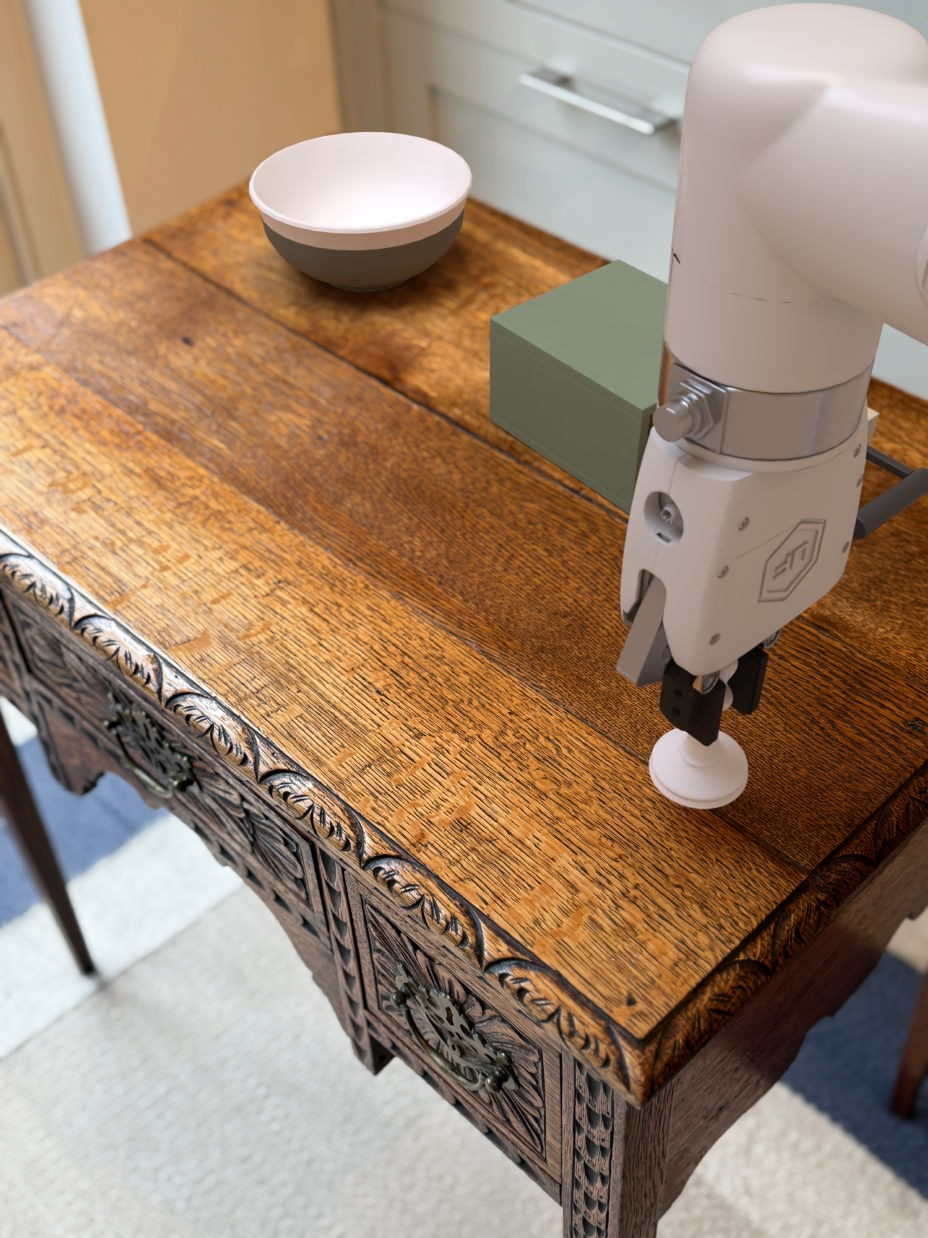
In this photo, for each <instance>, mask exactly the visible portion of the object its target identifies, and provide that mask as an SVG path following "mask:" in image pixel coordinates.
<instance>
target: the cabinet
mask: <svg viewBox="0 0 928 1238" xmlns="http://www.w3.org/2000/svg"><path fill="white" fill-rule="evenodd" d="M667 288H668V283H666V282H664V281H662V280H660V279H658V278H656V277H654V276H652V275H650V274H649V273H646V272H644V271H642V270H640V269H639V268H637V267H634V266H633V265H631V264H629V263H627V262H625V261H623V260H621V259H616V260H614V261H611V262H609V263H607V264H605V265H603V266H600V267H598V268H596V269H594V270H592V271H589V272H587V273H585V274H583V275H580V276H578V277H576V278H574V279H571V280H570V281H568V282H565V283H563V284H561V285H559V286H556V287H553V288H552V289H550V290H547V291H545V292H544V293H541V294H539V295H537V296H535V297H533V298H531V299H528V300H526V301H524V302H522V303H520V304H519V303H518V304H517V305H515V306H513V307H510V308H509V309H506V310H504V311H502V312H500V313H497V314H495V315H493V316H491V317H490V318H489V421H490V422H491V423H493V424H495V425H496V426H497V427H499V428H500V429H502V431H503V430H504V431H505V432H506V433H508V434H509V435H511V437H514V438H515V439H517V440H518V441H520V442H521V443H522V444H524V445H526V446H527V447H528V448H530V450H531V449H532V450H533V451H534V452H536V453H537V454H539V455H540V456H542V457H543V458H545V459H546V460H547V461H549V462H551V463H552V464H554V465H555V466H556V467H558V468H559V469H561V470H563V471H564V472H566V473H567V474H568V475H570V476H572V477H573V478H575V479H576V480H577V481H578V482H580V483H582V484H583V485H585V486H586V487H588V488H589V489H591V490H592V491H593V492H595V493H596V494H598V495H599V496H601V497H603V499H605V500H607V501H608V502H610V503H611V504H613V505H614V506H615V507H617V508H619V509H620V510H622V511H623V512H625V513H626V514H628V515H629V516H630V511H631V506H632V501H633V496H634V492H635V487H636V483H637V478H638V475H639V471H640V467H641V463H642V459H643V455H644V452H645V448H646V445H647V437H648V429H649V420H650V415H652V414H653V413H654V412H655V410H656V408H657V398H658V385H659V374H660V363H661V353H662V342H663V333H664V321H665V310H666V299H667Z"/></svg>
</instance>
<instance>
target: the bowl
mask: <svg viewBox="0 0 928 1238" xmlns="http://www.w3.org/2000/svg"><path fill="white" fill-rule="evenodd" d="M473 180H474V176H473V174H472V170H471V168H470V166H469V165H468V163H467V162H466V160H465V159H464V158H463V157H462V156H461V155H460V154H458V152H456V151H454V150H453V149H451V148H449V147H447V146H446V145H443V144H441V143H439V142H437V141H433V140H431V139H427V138H423V137H420V136H415V135H409V134H404V133H395V132H387V131H386V132H385V131H362V132H361V131H359V132H357V131H356V132H343V133H337V134H329V135H323V136H318V137H315V138H311V139H307V140H304V141H300V142H298V143H297V142H296V143H295V144H292V145H289V146H287V147H285V148H283V149H280V150H278V151H277V152H274V153H273V154H272V155H270V156H269V157H268V158H265V160H263V161H262V162H261V163H260V164H259V165H258V166H257V167H256V169H255V170H254V171H253V173H252V175H251V177H250V180H249V182H248V194H249V197H250V199H251V201H252V203H253V204H254V206H255V207H256V209H257V210H258V212H259V214H260V218H261V222H262V226H263V230H264V233H265V235H266V237H267V239H268V242H269V243H270V244H271V246H273V248H274V249H275V251H276V252H277V253H278V255H279V256H280V257H281V258H282V259H283V260H284V261H285V262H286V263H287V264H289V265H290V266H292V267H294V268H295V269H297V270H299V271H300V272H301V273H304V274H305V275H306V276H309V277H310V278H313V279H315V280H317V281H320V282H324V283H326V284H329V285H330V286H332V287H335V288H337V289H340V290H344V291H348V292H354V293H355V292H356V293H370V292H379V291H385V290H388V289H391V288H395V287H397V286H399V285H402V284H403V283H405V282H407V281H409V279H410V278H412V277H415V276H417V275H420V274H421V273H423V272H424V271H426V270H427V269H429V268H430V267H432V266H433V265H434V264H435V263H437V262H438V261H439V260H441V258H443V257H444V256H445V255H446V254H447V253H448V252H449V251H450V249H451V247H452V245H453V243H454V242H455V240H456V238H457V236H458V234H459V233H460V231H461V229H462V227H463V222H464V215H465V205H466V203H467V198H468V196H469V194H470V192H471V190H472V188H473Z"/></svg>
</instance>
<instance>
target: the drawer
mask: <svg viewBox="0 0 928 1238" xmlns="http://www.w3.org/2000/svg"><path fill="white" fill-rule="evenodd" d="M867 411H868V434H867V450H866V460H865V464H866V463H867V461H868V462H869V463H872V464H873V465H875V466H878V467H879V468H881V469H882V470H885V471H886V472H888V473H890V474H892V475H893V476H895V477H897V478H899V479H900V480H899V481H898V482H896V483H895V484H893V485H892V486H891V487H889V488H888V489H887V490H884V491H883V492H882V493H881V494H878V495H877V496H876V497H874V498H873V499H872V500H870V501H868V502H867V503H866V504H864V505H862V506H861V507H859V508H858V512H857V517H856V522H855V527H854V532H853V537H852V539H856V540H861V539H863V538H865V537H867V536H868V535H869V534H870V533H872V532H873V531H875V530H877V529H879V527H881V526H882V525H884V524H885V523H887V522H888V521H889V520H891V519H893V518H894V517H896V515H898V514H900V513H901V512H903V511H904V510H905V509H907V508H908V507H909V506H911V505H912V504H914V503H916V502H917V501H918V500H919V499H921V498H922V497H924V496H925V495H926V494H928V468H927V467H919V468H917V469H916V470H915V469H912V468H911V467H909V466H907V465H905V464H903V463H902V462H900V461H899V460H896V459H894V458H892V457H891V456H889V455H887V454H885V453H883V452H882V451H879V450H878V449H876V448H874V447H872V443H873V438H874V435H875V432H876V428H877V424H878V421H879V417H880V412H877V410H874V409H873V408H870V407H868V406H867ZM653 426H654V425H653V414H652V415H650V420H649V429H648V437H647V442H648V438H649V435H650V431H651V429H652V427H653Z"/></svg>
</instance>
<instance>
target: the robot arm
mask: <svg viewBox="0 0 928 1238" xmlns="http://www.w3.org/2000/svg"><path fill="white" fill-rule="evenodd" d="M682 115H683V117H682V126H681V136H680V148H679V157H678V159H679V160H678V169H677V179H676V180H677V181H676V182H677V183H676V190H675V200H674V212H673V222H672V235H671V244H670V254H669V255H670V257H669V267H668V277H667V284H668V288H667V299H666V310H665V321H664V333H663V342H662V353H661V363H660V374H659V385H658V398H657V408H656V410H655V412H654V413H653V425H654V426H653V427H652V429H651V431H650V435H649V438H648V442H647V445H646V448H645V452H644V455H643V459H642V463H641V467H640V471H639V475H638V478H637V483H636V487H635V492H634V496H633V501H632V506H631V511H630V515H629V517H628V523H627V527H626V534H625V541H624V546H623V555H622V563H621V574H620V586H619V587H620V589H619V603H620V604H619V607H620V615H621V620H622V623H623V625H624V627H627V628H630V629H629V632H628V634H627V636H626V639H625V642H624V644H623V647H622V649H621V651H620V654H619V656H618V659H617V662H616V664H615V669H614V670H615V672H616V673H618V674H619V675H620V676H622V677H623V678H624V679H626V680H627V681H628V682H630V683H631V684H632V685H633V686H635V687H636V688H638V689H639V688H644V687H647V686H651V685H654V684H657V683H660V682H661V687H660V696H659V703H658V708H659V711H660V712H661V714H662V715H663V716H664V717H665V718H666V720H667V721H668V722H669V723H670V724H671V725H672V726H674V727H675V729H676V728H678V729H679V730H681V731H685V732H687V733H688V734H689V735H691V736H692V737H693V738H695V739H696V740H697V741H699V742H700V743H701V744H702V745H704V746H709V745H711V744H712V743H713V742H715V741H716V740H717V737H718V733H719V731H720V727H721V722H722V721H721V720H722V716H723V711H722V710H723V704H724V699H725V693H726V685H725V683H724V682H723V681H722V680H721V679H720V678H719V676H720V671H721V669H722V668H724V667H726V666H727V665H729V664H730V663H732V662H733V661H735V660H736V659H738V666H737V669H736V671H735V672H734V674H733V675H732V676H731V677H730V679H729V680H728V681H727V683H726V684H728V686H729V687H730V688H731V691H732V694H733V701H732V704H731V705H730V707H731V708H732V709H734V710H735V711H736V712H738V713H739V714H741V715H742V716H743V715H744V716H750V715H751V714H753V713H754V712H756V711H757V710H758V709H759V707H760V702H761V698H762V697H761V696H762V691H763V687H764V682H765V678H766V673H767V667H768V662H769V657H770V654H769V653H768V652H766V651H765V650H769V649H771V648H772V647H773V646H774V645H775V644H776V643H777V642H778V640H779V638H780V636H781V633H782V630H783V627H785V626H786V625H787V624H789V623H790V622H791V621H793V620H794V619H795V618H797V617H798V616H800V615H801V614H802V613H803V612H805V611H806V610H808V609H809V608H810V607H811V606H813V605H814V604H815V603H817V602H818V601H820V600H821V599H822V598H824V596H826V595H827V594H828V593H830V591H831V590H832V589H833V588H834V587H835V586H836V585H837V584H838V582H839V581H840V579H841V578H842V576H843V575H844V572H845V570H846V566H847V562H848V559H849V555H850V551H851V547H852V541H853V532H854V527H855V522H856V517H857V512H858V509H859V505H860V499H861V493H862V487H863V481H864V474H865V467H866V463H865V460H866V450H867V434H868V411H867V407H868V397H867V394H868V389H869V387H870V386H869V385H870V383H871V382H870V381H871V378H872V373H873V369H874V365H875V361H876V355H877V351H878V349H879V345H880V341H881V336H882V331H883V327H884V324H885V325H887V326H889V327H890V328H892V329H894V330H896V331H898V332H900V333H901V334H904V335H906V336H907V337H909V338H911V339H913V340H914V341H916V342H919V343H921V344H923V345H925V346H928V40H927V39H926V38H925V37H924V36H923V35H922V34H921V33H920V32H919V31H918V30H917V29H916V28H914V27H913V26H912V25H910V24H908V23H907V22H905V21H903V20H901V19H899V18H896V17H893V16H891V15H888V14H885V13H883V12H880V11H876V10H872V9H868V8H866V7H865V8H864V7H860V6H854V5H847V4H839V3H838V4H837V3H827V2H793V3H792V2H791V3H783V4H775V5H770V6H765V7H760V8H756V9H752V10H749V11H745V12H741V13H739V14H736V15H734V16H732V17H729V18H728V19H726V20H725V21H723V22H722V23H721V24H719V25H717V26H716V27H715V28H714V29H712V30H711V31H710V32H709V33H708V35H707V36H706V37H705V38H704V40H703V41H702V42H701V43H700V44H699V46H698V48H697V50H696V52H695V54H694V56H693V60H692V62H691V65H690V67H689V71H688V76H687V83H686V90H685V95H684V105H683V114H682ZM866 461H867V460H866Z"/></svg>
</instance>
